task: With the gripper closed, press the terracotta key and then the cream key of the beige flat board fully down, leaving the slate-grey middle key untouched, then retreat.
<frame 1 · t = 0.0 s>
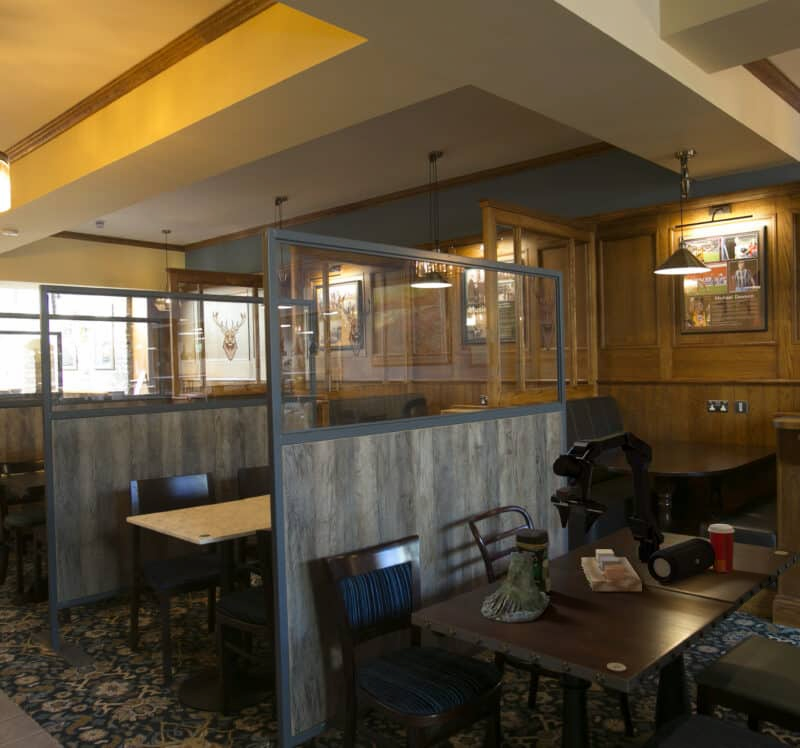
hand: (574, 530, 219), 15 cm above the table, tool pointing down, fingers open, 9 cm apart
tree stump: (515, 610, 195), on the table
paper cup: (722, 571, 223), on the table, touching portable speaker
key slate: (609, 566, 220), point 4 cm above the table, slide at 0.0 cm
coffee jar: (533, 592, 210), on the table
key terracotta: (614, 575, 211), point 4 cm above the table, slide at 0.0 cm
key cream: (605, 559, 229), point 4 cm above the table, slide at 0.0 cm
beige flat board: (610, 578, 220), on the table
portable speaker: (683, 576, 218), on the table, touching paper cup
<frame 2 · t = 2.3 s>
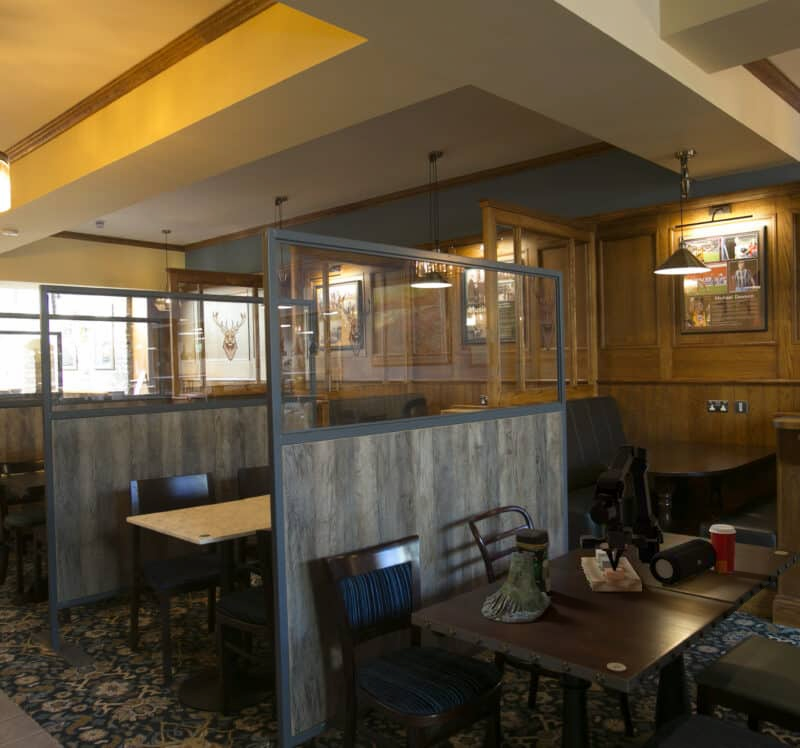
hand: (614, 570, 211), 5 cm above the table, tool pointing down, fingers closed, pressing on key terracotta
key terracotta: (614, 578, 211), point 2 cm above the table, slide at 1.0 cm, touching gripper
portable speaker: (684, 577, 217), on the table, touching paper cup
everything else where it was.
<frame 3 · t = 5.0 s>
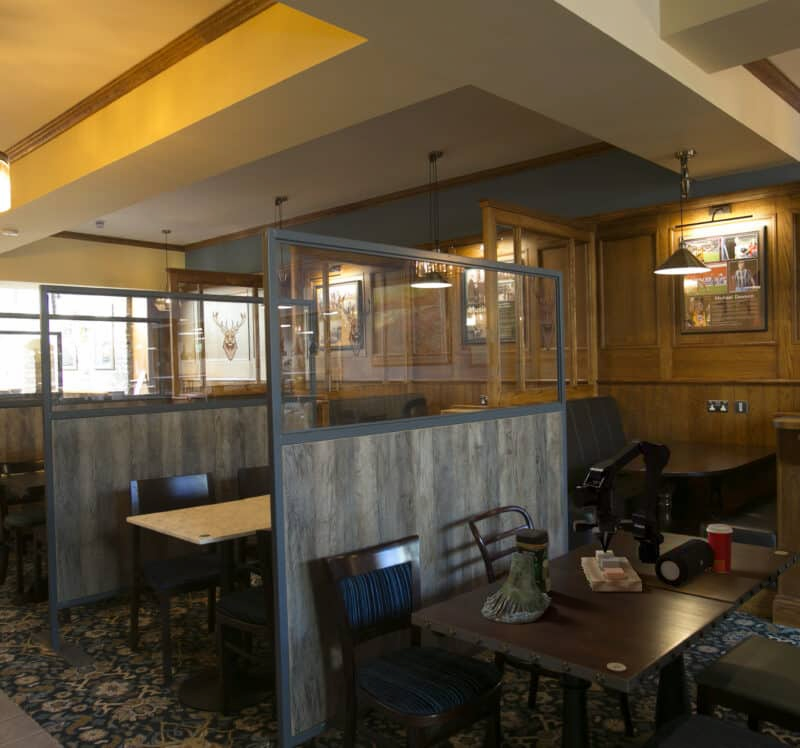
hand: (604, 552, 229), 6 cm above the table, tool pointing down, fingers closed, pressing on key cream
paper cup: (720, 571, 223), on the table, touching portable speaker
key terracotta: (614, 578, 211), point 2 cm above the table, slide at 1.0 cm
key cream: (605, 560, 229), point 3 cm above the table, slide at 0.4 cm, touching gripper
portable speaker: (686, 578, 216), on the table, touching paper cup
everything else where it was.
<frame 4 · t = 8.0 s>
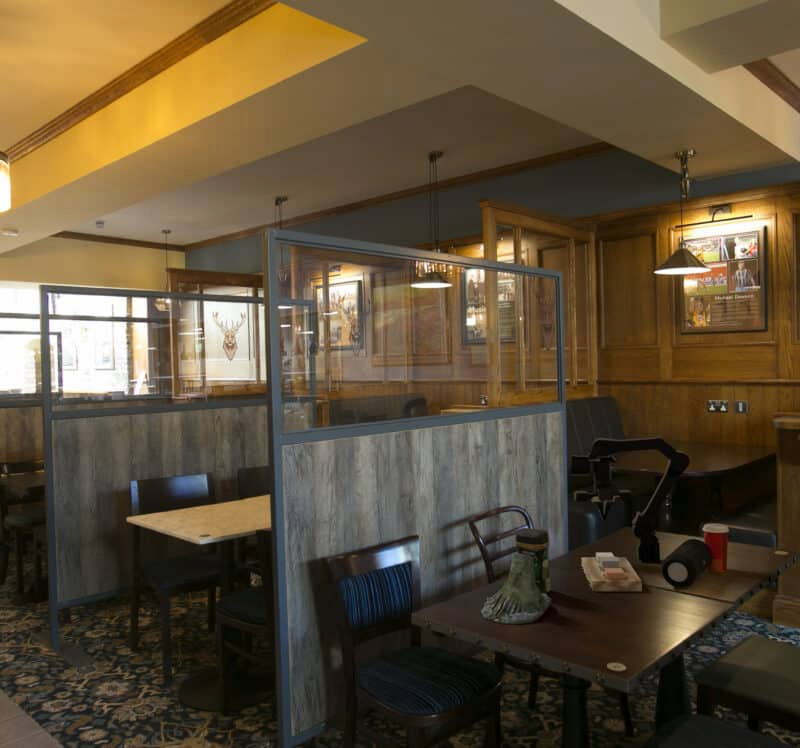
hand: (604, 521, 241), 13 cm above the table, tool pointing down, fingers closed
paper cup: (716, 570, 223), on the table, touching portable speaker
key cream: (605, 562, 229), point 2 cm above the table, slide at 1.0 cm
at the end: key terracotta slide at 1.0 cm; key cream slide at 1.0 cm; key slate slide at 0.0 cm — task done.
